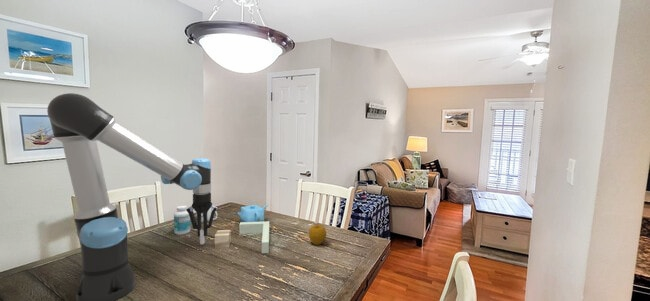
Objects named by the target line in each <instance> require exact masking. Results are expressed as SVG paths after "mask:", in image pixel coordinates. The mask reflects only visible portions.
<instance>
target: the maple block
mask: <svg viewBox="0 0 650 301" xmlns="http://www.w3.org/2000/svg"><path fill="white" fill-rule="evenodd" d="M231 232H232V231H231V229H223V230H222V229H221V230H217V231H216V233H215V235H214V249H224V248H230V245H231V242H232V241H231V240H232V239H231V236H232V234H231Z"/></svg>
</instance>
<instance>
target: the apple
mask: <svg viewBox="0 0 650 301" xmlns="http://www.w3.org/2000/svg"><path fill="white" fill-rule="evenodd" d="M308 237H309V240H310V241H311V243H312V244H313V245H316V246H319V245H322V243H324V241H325V240H326V238H327V229H326V228H325V226H323V225H320V224H313V226H310V228H309V230H308Z"/></svg>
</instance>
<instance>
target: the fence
mask: <svg viewBox="0 0 650 301" xmlns="http://www.w3.org/2000/svg"><path fill="white" fill-rule="evenodd" d="M238 226H239V235H244V234H245V235H246V234H262V236H261V254H269V253H270V252H269V249H270V221H269V220H268V221H265V220H264V222H241V221H240V223H239V225H238Z"/></svg>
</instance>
